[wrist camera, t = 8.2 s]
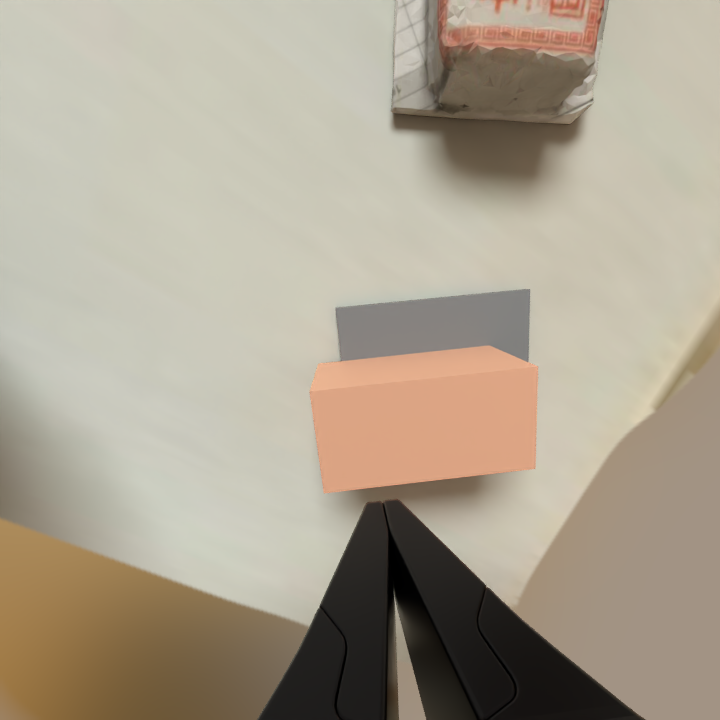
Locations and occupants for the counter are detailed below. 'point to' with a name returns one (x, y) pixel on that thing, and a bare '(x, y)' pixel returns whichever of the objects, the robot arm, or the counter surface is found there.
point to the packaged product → (497, 58)
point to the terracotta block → (424, 417)
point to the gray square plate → (436, 325)
